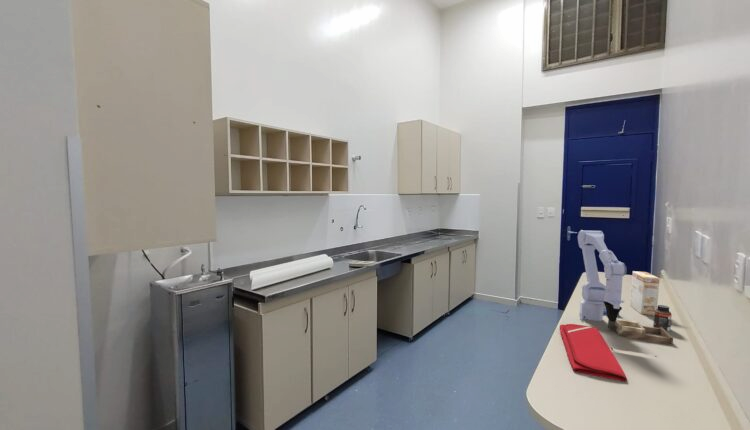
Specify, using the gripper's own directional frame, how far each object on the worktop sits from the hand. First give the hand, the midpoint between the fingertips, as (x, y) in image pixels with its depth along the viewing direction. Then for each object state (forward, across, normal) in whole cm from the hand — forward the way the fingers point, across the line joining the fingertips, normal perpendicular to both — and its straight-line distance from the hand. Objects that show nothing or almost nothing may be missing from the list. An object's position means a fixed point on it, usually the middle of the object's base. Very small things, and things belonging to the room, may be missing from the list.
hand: (611, 319), depth 150 cm
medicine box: (+6, +29, -5) cm, 30 cm away
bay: (+6, 0, -10) cm, 12 cm away
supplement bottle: (+6, +14, -22) cm, 27 cm away
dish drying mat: (+7, -25, +12) cm, 28 cm away
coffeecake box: (+6, +44, -23) cm, 50 cm away
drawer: (+5, 0, -5) cm, 7 cm away
